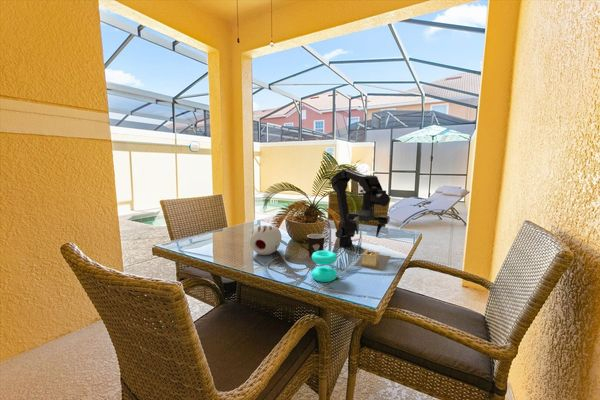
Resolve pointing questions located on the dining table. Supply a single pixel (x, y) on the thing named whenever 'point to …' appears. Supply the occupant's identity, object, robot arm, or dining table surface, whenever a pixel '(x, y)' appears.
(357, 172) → the robot arm
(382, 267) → the base plate
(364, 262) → the brass collar
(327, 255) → the donuts
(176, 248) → the dining table surface
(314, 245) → the coffee mug
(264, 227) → the decorative object
